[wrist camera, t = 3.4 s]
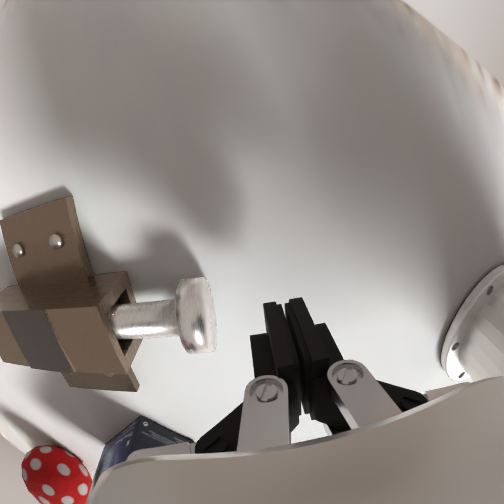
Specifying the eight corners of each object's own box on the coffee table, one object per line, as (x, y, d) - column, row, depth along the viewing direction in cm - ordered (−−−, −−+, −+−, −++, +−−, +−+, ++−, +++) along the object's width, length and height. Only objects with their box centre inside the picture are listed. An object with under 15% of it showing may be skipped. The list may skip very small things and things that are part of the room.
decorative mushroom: (48, 505, 20) (54, 530, 12) (13, 450, 23) (3, 458, 15) (94, 485, 29) (115, 503, 21) (61, 434, 32) (69, 436, 24)
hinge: (105, 186, 14) (63, 200, 10) (168, 384, 19) (157, 429, 15) (-11, 224, 14) (-48, 242, 10) (54, 378, 19) (35, 409, 15)
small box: (137, 411, 21) (110, 510, 11) (197, 440, 22) (189, 534, 12) (102, 442, 23) (79, 513, 13) (150, 466, 25) (138, 536, 15)
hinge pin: (205, 264, 16) (195, 300, 12) (218, 324, 17) (213, 367, 13) (33, 286, 16) (2, 313, 12) (53, 332, 17) (28, 363, 13)
